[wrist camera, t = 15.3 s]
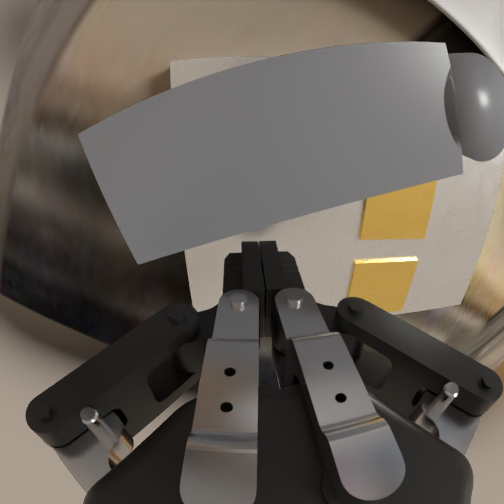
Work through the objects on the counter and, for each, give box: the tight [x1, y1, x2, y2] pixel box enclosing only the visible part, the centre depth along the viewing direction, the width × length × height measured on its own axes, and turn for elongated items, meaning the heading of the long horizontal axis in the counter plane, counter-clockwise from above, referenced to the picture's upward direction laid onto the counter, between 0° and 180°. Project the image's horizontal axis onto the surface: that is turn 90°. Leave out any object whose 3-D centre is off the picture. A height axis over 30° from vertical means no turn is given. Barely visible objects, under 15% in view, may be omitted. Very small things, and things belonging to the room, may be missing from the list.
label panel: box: [170, 56, 504, 315], centre depth 14 cm, size 20×15×3 cm
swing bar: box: [78, 42, 504, 265], centre depth 9 cm, size 16×5×2 cm, turn 107°
